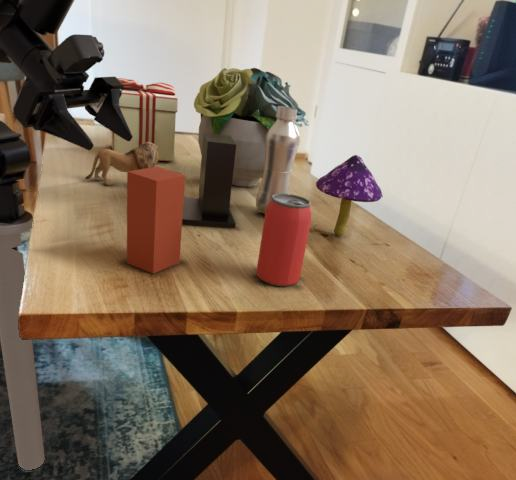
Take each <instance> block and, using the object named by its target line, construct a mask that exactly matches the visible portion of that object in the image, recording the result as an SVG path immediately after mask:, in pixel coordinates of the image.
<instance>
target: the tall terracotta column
mask: <svg viewBox="0 0 516 480" xmlns="http://www.w3.org/2000/svg"><path fill="white" fill-rule="evenodd" d="M126 173H127V175H126V176H127V177H126V263H127V264H128V265H131V266H133V267H135V268H138V269H140V270H143V271H146V272H148V273H149V274H150V273H151V274H152V275H153V274H156V273H158V272H161V271H163V270H166V269H168V268H171V267H173V266H175V265H178V264H180V262H181V246H182V231H183V230H182V229H183V225H182V216H183V201H184V197H185V184H186V175H185V174H184V173H180V172H177V171H174V170H170V169H167V168H165V167H160V166H157V165H156V166H154V167H151V168H145V169H140V170H134V171H128V172H126Z"/></svg>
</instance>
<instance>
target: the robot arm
mask: <svg viewBox="0 0 516 480" xmlns="http://www.w3.org/2000/svg"><path fill="white" fill-rule="evenodd" d="M74 2H75V0H0V63H1V64H13V65H14V66H15V68H16V69H18V71H19V72H20V73H21V74H22V75H23V76H24V77H25V79H24V81H23V82H22V84H21V87H20V90H19V92H18V94H17V96H16V99H15V101H14V104H13V106H12V111H13V115H14V118H15V119H16V120H17V121H18V123H19V124H21V125H22V127H23V128H24V129H27V128H32V129H33V130H34V131H40V132H42V133H46V134H48V135H52V136H54V137H57V138H58V139H61V140H63V141H66V142H68V143H70V144H73V145H76V146H78V147H80V148H82V149H85V150H87V151H91V150H92V149H93V148H94V143H93V141H92V140H91V138H90V137H89V136H88V134H87V132H86V131H85V130H84V129H83V128H82V126H80V124H79V123H78V122H77V120H76V119H75V118H74V117H73V116H72V114H71V113H70V111H69V110H68V109H75V108H84V110H85V111H86V112H87V113H88V114H89V115H91V116H92V117H94V118H93V121H95V122H96V123H98V124H100V125H101V126H103V127H104V128H106V130H107V129H108V131H110V132H111V131H112V132H113V133H115V134H116V135H118V136H119V137H121V138H123V139H125V140H126V141H131V139H132V137H133V136H132V134H131V131H130V129H129V127H128V125H127V123H126V120H125V118H124V116H123V114H122V111H121V108H120V105H119V99H120V97H121V95H122V91H123V89H124V86H123V84H122V83H121V82H120V81H119V80H118V79H117V78H118V77H116V76H100V77H99V76H97V77H94V78H93V80H92V82H91V84H90V86H89V88H88V89H85V86H84V83H87V81H88V79H89V77H90V75H89V73H87V71H89V70H90V69H91V68H92V67H93V66H95V65H96V64H97V63H98V64H99V63H101V62H102V61H103V60H104V57H105V50H104V44H103V43H102V42H101V41H99V40H98V38H97V37H96V36H93V35H91V34H79V33H78V34H72V35H69V36H68V37H66V38H64V40H63V41H61V42H60V43H59V44H58V45H57V46H56V47H55V48H54V49H53V48H52V47H51V45H50V44H49V43H48V41H46V40H45V39H44V37H42V36H47V35H48V34H51V35H57V34H58V32H59V30H60V28H61V27H62V24H63V23H64V21H65V19H66V17H67V15H68V14H69V11H70V9H71V8H72V6H73V4H74ZM20 137H22V133H18V132H16V131H14V130H12V129H11V127H9V126H8V125H7V124H6V123H5V122H4V121H2V120H0V223H7V224H13V223H15V222H16V221H17V220H18V219H20V218H21V217H22V216H23V215H25V214H26V211H27V210H26V208H25V206H24V205H23V204H24V203H25V202H24V192H23V190H20V181H19V180H24V179H25V177H26V172H27V170H28V169H29V166H30V165H31V152H30V150H29V149H30V147H29V145H28V144H27V143H26V141H24V140H23V139H22V138H20ZM25 210H26V211H25Z"/></svg>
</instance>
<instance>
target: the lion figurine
mask: <svg viewBox="0 0 516 480" xmlns="http://www.w3.org/2000/svg"><path fill="white" fill-rule="evenodd" d="M98 161H99V164H98ZM158 162H159V161H158V146H156V145H155V144H153V143H151V142H145V143H143V144H142V145H140V146H139V147H137V148H133V149H132V150H130V151H129V152H127V153H125V154H124V153H118V152H115V151H113V149H109V148H103V149H100V150H99V151H98V152H97V153H96V155H95V157H94V160H93V164H92V167H91V171H90V173H89V174H88V175H87V176H85V177H84V179H85V180H90V179H91V178H92V177H93V178H94V179H95V180H96V181H101V180H103V183H104V184H105V185H106V186H111V185H112V181H109V180H108V178H107V175H108V173H109V170H110V167H113V168H114V169H115V170H117V171H119V172H123V173H127V172H128V171H134V170H140V169H145V168H151V167H156V166H157V164H158ZM97 164H98V166H97ZM101 172H102V173H101ZM100 173H101V176H99V174H100ZM93 175H94V176H93Z"/></svg>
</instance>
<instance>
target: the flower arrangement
mask: <svg viewBox="0 0 516 480" xmlns="http://www.w3.org/2000/svg"><path fill="white" fill-rule="evenodd" d="M288 83H289V82H288V81H286V82H284V86H283V85H282V84H283V81H282V78H280V76H278V75H276V74H274V73H272V72H271V71H264V70H261V69H259V68H257V67H251V68H245V69H239V68H232V67H231V68H228V69H227V68H225V67H224V68H222V69H220V71H219V72H218V74H217V75H215V76H214V77H213V78H212V79H211V80H209V81H207V82H205V83H203V84H201V86H200V88H199V92H198V93H197V94H196V96H195V98H194V100H193V108H194V109H195V112H196V113H197V114H200V123H199V126H198V140H197V143H198V146H199V150H200V155H201V156H202V145H203V133H212V134H220V135H229V136H231V138H232V139H233V140H234V142H235V143H236V154H235V162H234V171H233V180H232V186H237V187H245V188H251V187H255V186H257V185H258V184H259V181H260V180H262V176H263V172H264V166H265V164H264V163H265V142H266V141H265V140H266V134H267V132H268V130H269V129H270V127H271V126H272V125H273V124H274V123H275V122H276V120H277V117H276V114H277V107H278V106H285V107H291V108H295V109H297V115H296V117H297V119H296V120H295V121H294V124H295V126H296V127H299V128H302V127H303V124H304V126H307V127H309V126H310V124H309V120H307V119H306V118H304V117H305V116H306V115H307V113H306V111H304V110H303V109H301V108H300V106H299V104H298V102H297V101H296V100H295V99H294V98H293V96H291V94H290V88H291V85H290V84H288ZM299 122H301V123H299Z"/></svg>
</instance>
